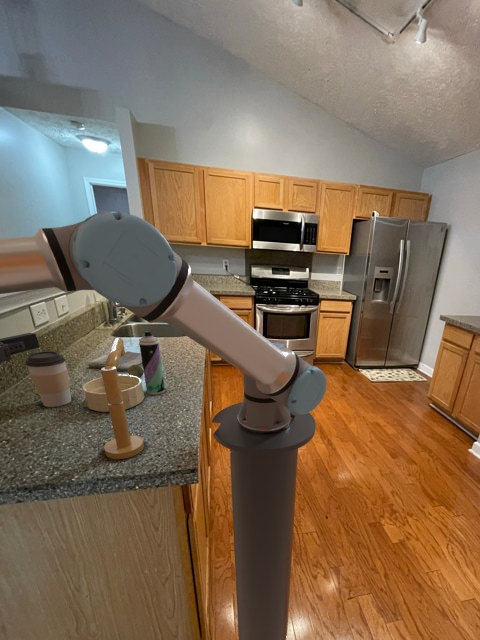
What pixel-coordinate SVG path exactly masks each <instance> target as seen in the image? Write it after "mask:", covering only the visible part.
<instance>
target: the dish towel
mask: <svg viewBox="0 0 480 640" xmlns="http://www.w3.org/2000/svg"><path fill="white" fill-rule="evenodd" d="M109 353H110V352H108V353H106V354H104V355H102V356H100V357H97V358H95V359H93V360H91V361H89V362H88V364H87V366H88V367H91V368H95V369H96V368H97V369H101V368H104V366H105V363H106V361H107V358H108V355H109ZM132 365H139V366H141V367H143V364H142V358H141V352H133V351H129V350H127V351H125V356H122V357H120V359H119V363H118V367H117V371H122V372H128V370H129V367H130V366H132Z"/></svg>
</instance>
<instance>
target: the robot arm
mask: <svg viewBox="0 0 480 640" xmlns="http://www.w3.org/2000/svg"><path fill="white" fill-rule="evenodd" d="M192 274H193V273H192V268H191V265H190V264H189V263H188V262H187V261H186V260H185V259H183V258H182V257H181V256H180V255H179V254H177V253H176V252H175V251H174V250H173V249H172V247H171V245H170V243H169V242H168V240H167V239H166V237H165V235H163V234H162V232H161V231H159V230H158V229H157V228H156V226H154V225H153V224H151V223H150V222H148V221H147V220H145V219H143V218H141V217H139V216H137V215H134V214H131V213H129V212H124V211H119V210H118V211H115V210H105V211H101V212H97V213H94V214H92V215H90V216H88V217H86V218H85V219H84V220H82V221H79V222H77V223H72V224H68V225H64V226H58V227H57V226H55V227H44V228H38V230H36V232H35V234H34V235H31V236H19V237H1V238H0V295H5V294H13V293H21V292H28V291H37V290H43V289H44V290H45V289H50V288H51V289H52V288H56V289H59V290H60V291H62V292H64V293H69V292H76V291H95V292H96V293H97V294H98V295H100V296H101V297H103V298H105V299H107V300H108V301H111V302H113V303H116V304H118V305H119V306H121V307H123V308H124V309H126V310H127V311H129V312H131V313H133V314H134V315H135V316H137V317H139V318H141V319H142V320H144V321H146V322H147V323H149V324H152V323H157V322H158V323H159V322H164V323H166V324H167V325H169V326H171V328H173V329H175V330H177V331H178V332H179V333H181V334H183V335H185V336H186V337H188V338H189V339H190V340H192V341H194V342H195V343H197V344H199V345H200V346H202V347H203V348H205V349H206V350H208V351H209V352H211V353H212V354H214V355H215V356H217V357H218V358H220V359H222V360H223V361H225V362H227V363H228V364H230V365H231V366H232V367H234V368H236V369H237V370H239V371H240V372H241V373H242V375H243V399H242V401H241V402H242V405H241V408H240V411H239V414H238V424H239V426H240V427H241V428H242V429H244V430H246V431H248V432H251V433H256V434H273V433H277V432H280V431H283V430H285V429H286V428H287V427H288V426H289V425H290V421H291V417H292V418H295V415H293V414H291V413H290V412H289V410H290V411H291V412H294V413H296V414H299V415H303V414H307V413H310V412H312V411H314V410H315V409H316V408H318V406H320V404H321V402H322V401H323V398H324V397H325V395H326V391H327V384H328V379H327V377H326V374H325V372H324V371H323V370H322V369H320V368H319V367H318V366H315V365H312V364H310V363H309V362H307V361H305V360H304V359H303V358H302V357H301V356H299V355H298V354H297V353H295V351H293V350H292V349H290V348H288V347H287V345H286V344H285V343H280V342H271V341H270V340H269V339H267V337H265V336H263V334H261V333H260V332H259V331H258V330H256V329H255V328H254V327H253V326H251V325H250V324H249V323H247V322H246V321H245V320H244V319H243V318H242V317H240V316H239V315H238V314H236V313H235V312H234V311H233V310H232V309H230V308H229V307H228V306H227V305H226V304H224V303H223V302H222V301H220V300H219V299H218V298H217V297H215V296H214V295H213V294H212V293H211V292H209V291H208V290H207V289H205V288H204V287H203V286H201V284H200V283H198V282H197V281H196V280H194V279H193V275H192ZM39 348H40V344H39V340H38V337H37V333H36V332H35V333H34V332H26V333H22V334H18V335H12V336H6V337H2V338H0V364H2V363H5V362H9V361H10V360H12V359H13V358H12V356H13V355H16V354H20V353H23V352H27V351H31V350H35V349H39Z"/></svg>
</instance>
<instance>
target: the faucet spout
mask: <svg viewBox="0 0 480 640" xmlns="http://www.w3.org/2000/svg"><path fill="white" fill-rule="evenodd" d="M124 343H125V342H124V340H123V339H122V338H120V337H116V338H114V339H113V341H112V345H111V348H110V350H109V352H108V353H109V355H108V358H107V361H106V363H105V366H104V368H100V374H101V377H102V378H103V382H104V387H105V391H106V396H107V401H108V403H109V404H118V403H120V402H122V401H123V400H122V395H121V390H120V385H119V380H118V375H119V374H118V370H117V367H118V363H119V359H120V357H122V356H125V352H126V351H125V344H124Z"/></svg>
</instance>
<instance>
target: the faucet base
mask: <svg viewBox="0 0 480 640" xmlns="http://www.w3.org/2000/svg"><path fill="white" fill-rule="evenodd" d="M108 408H109V412H108V413H109V416H110V422H111V426H112V430H113V435H114V438H112V439H110V440H109V441H108V442H106V443H105V445H104V446H103V450H104V453H105V456H106V457H107V458H109V459H113V460H125V459H129V458H132V457H135V456H137V455H138V454H140V453H141V452H142V451H143V450H144V448H145V443H144V439H143V437H141V436H139V435H136V434H135V435H134V434H131V433H130V428H129V423H128V418H127V414H126V409H125V407H124V402H123V401H122V402H120V403H118V404H109V403H108Z"/></svg>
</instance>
